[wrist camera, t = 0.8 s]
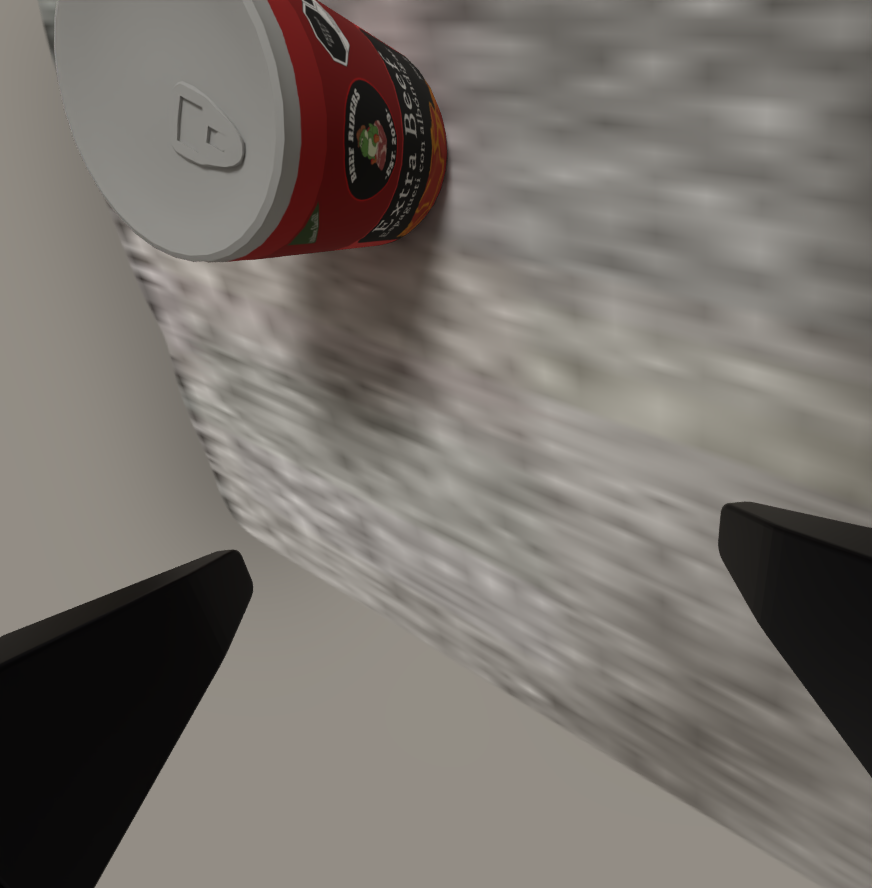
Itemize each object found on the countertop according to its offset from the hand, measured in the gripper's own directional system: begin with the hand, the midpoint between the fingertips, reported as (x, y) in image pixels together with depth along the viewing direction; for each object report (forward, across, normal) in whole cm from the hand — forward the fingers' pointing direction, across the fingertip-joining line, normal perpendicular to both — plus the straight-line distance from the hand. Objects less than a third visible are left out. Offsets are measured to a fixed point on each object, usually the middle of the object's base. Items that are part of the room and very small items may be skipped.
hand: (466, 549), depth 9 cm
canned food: (+18, -3, +9) cm, 20 cm away
